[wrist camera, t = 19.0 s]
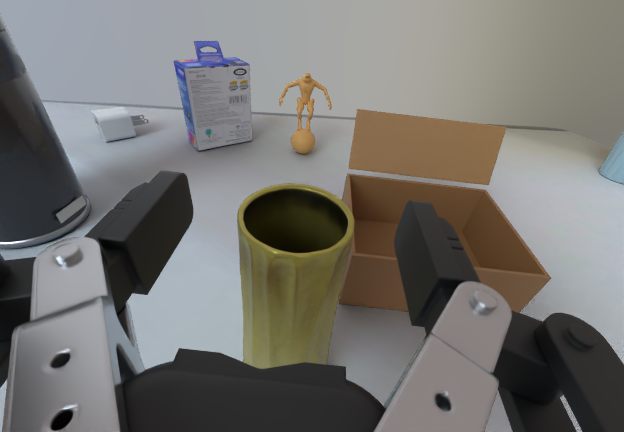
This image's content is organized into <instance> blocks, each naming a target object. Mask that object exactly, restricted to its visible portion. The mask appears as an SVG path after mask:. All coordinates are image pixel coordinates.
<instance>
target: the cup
mask: <svg viewBox="0 0 624 432" xmlns="http://www.w3.org/2000/svg"><path fill="white" fill-rule="evenodd" d="M599 173H600V174H601V175H603V176H604V177H606V178H608V179H610V180H612V181H615V182H618V183H622V184H624V132H623V133H622V135H621V136H620V138H619V139H618V141H617V142H616V144H615V146H614V147H613V149H612V150H611V152H610V154H609V155H608V157H607V158H606V160H605V162H604V163H603V165H602V166H601V168H600V170H599Z"/></svg>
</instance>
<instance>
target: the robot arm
mask: <svg viewBox="0 0 624 432" xmlns="http://www.w3.org/2000/svg"><path fill="white" fill-rule="evenodd" d="M90 210H91V205H90V202H89V200H88V198H87V196H86V195H85V194H84V192H83V190H82V188H81V185H80V183H79V181H78V179H77V177H76V174H75V172H74V170H73V168H72V166H71V164H70V161H69V159H68V157H67V155H66V153H65V151H64V149H63V146H62V144H61V142H60V140H59V138H58V136H57V134H56V132H55V129H54V127H53V125H52V123H51V121H50V119H49V117H48V114H47V112H46V110H45V108H44V106H43V104H42V102H41V99H40V97H39V95H38V93H37V91H36V89H35V87H34V84H33V82H32V80H31V78H30V76H29V74H28V72H27V70H26V68H25V66H24V63H23V61H22V59H21V57H20V55H19V53H18V51H17V48H16V46H15V44H14V42H13V40H12V38H11V36H10V34H9V31H8V29H6V25H5V23H4V21H3V19H2V17H1V15H0V249H15V248H23V247H28V246H33V245H37V244H41V243H44V242H47V241H50V240H53V239H55V238H57V237H60V236H62V235H64V234H66V233H68V232H69V231H71V230H73V229H74V228H76V227H77V226H78V225H80V224H81V223H82V222H83V221H84V220H85V219H86V218H87V216H88V215H89V213H90ZM192 219H193V204H192V199H191V194H190V189H189V184H188V179H187V176H186V175H185V174H184V173H179V172H170V171H160V172H159V173H158V174H157V175H156V176H155V177H154V178H153V179H152V180H151V181H150V182H149V183H144V184H142V185H140V186H138V187H136V188H134V189H132V190H131V191H130V192H129V193H128V194H127V195H126V196H125V197H124V198H123V199H122V201H120V202H119V203H118V204H117V205H116V206H115V207H114V209H112V210H111V211H110V212H109V213H108V214H107V215H106V216H105V217H104V218H103V219H102V220H101V221H100V222H99V223H98V224H97V225H96V226H95V227H94V228H93V229H92V230H91V231H90V232H89V233H88V234H86V235H85V236H84V237H75V238H69V239H65V240H62V241H59V242H57V243H55V244H53V245H51V246H49V247H47V248H46V249H45V250H43V251H42V252H41V253H40V254H39V255H38V256H37V257H32V258H23V259H15V260H6V261H5V260H4V259H3V257H2V256H1V255H0V387H1V386H2V385H3V384H4V382H5V381H6V380H7V378H8V380H7V390H6V399H5V408H4V418H3V427H2V432H484V431H485V428H486V425H487V422H488V419H489V415H490V412H491V409H492V406H493V403H494V399H495V396H496V393H497V390H498V391H499V394H500V397H501V399H502V402H503V405H504V408H505V411H506V414H507V417H508V419H509V422H510V425H511V428H512V431H513V432H577V431H576V429H575V427H574V425H573V423H572V421H571V419H570V417H569V415H568V413H567V411H566V409H565V407H564V405H563V403H562V401H561V399H560V397H561V396H562V395H564V396H565V398H566V400H567V402H568V404H569V406H570V408H571V410H572V412H573V414H574V416H575V418H576V419H577V421H578V423H579V425H580V427H581V429H582V432H624V364H623V363H622V361H621V360H620V359H619V357H618V356H617V354H616V353H615V351H614V350H613V349H612V347H611V346H610V344H609V343H608V342H607V341H606V339H605V338H604V337H603V336H602V335H601V334H600V333H599V332H598V331H597V330H596V329H594V328H593V327H592V326H591V325H589V324H588V323H586V322H584V321H583V320H581V319H579V318H577V317H574V316H572V315H569V314H565V313H554V314H551V315H550V316H549V317H548V318H547V319H545V320H544V321H543V322H542V321H539V320H537V319H534V318H531V317H528V316H526V315H523V314H520V313H518V312H515V311H513V310H511V308H510V306H509V304H508V303H507V301H506V300H505V299H504V298H503V296H501V295H500V294H499V293H498V292H497V291H495V290H494V289H492V288H491V287H489V286H487V285H485V284H482V283H481V281H480V279H479V277H478V275H477V273H476V271H475V269H474V267H473V265H472V263H471V261H470V259H469V257H468V255H467V253H466V251H465V250H464V247H463V245H462V243H461V241H459V237H458V235H457V233H456V231H455V229H454V227H452V226H451V225H450V224H449V223H448V222H447V221H446V220H445V219H444V218H440V217H438V216H437V214H436V212H435V209H434V207H433V205H432V204H431V203H430V202H422V201H413V200H409V201H408V202H407V203H406V205H405V208H404V211H403V214H402V216H401V219H400V222H399V224H398V227H397V230H396V233H395V238H394V249H395V253H396V258H397V262H398V266H399V271H400V275H401V280H402V284H403V288H404V293H405V297H406V302H407V306H408V311H409V315H410V319H411V324H412V326H419V327H425V330H426V334H427V335H426V336H425V338H424V340H423V341H422V343H421V345H420V346H419V348H418V350H417V351H416V353H415V355H414V356H413V358H412V360H411V361H410V363H409V365H408V366H407V368H406V370H405V371H404V373H403V375H402V377H401V378H400V380H399V382H398V383H397V385H396V386H395V388H394V390H393V391H392V393H391V395H390V396H389V398H388V399H387V401H386V403H385V404H384V406H383V405H382V404H381V403H380V402H379V401H378V400H377V399H376V398H375V397H374V396H372V395H371V394H370V393H369V392H367V391H366V390H365V389H363V388H362V387H360V386H358V385H357V384H355V383H353V382H351V381H348V380H346V367H343V366H334V365H325V364H316V363H307V362H303V363H297V364H291V365H284V366H278V367H272V368H265V369H259V368H256V367H253V366H251V365H248V364H246V363H244V362H241V361H239V360H236V359H234V358H231V357H229V356H227V355H224V354H222V353H217V352H208V351H199V350H190V349H180V348H179V350H178V352H177V354H176V356H175V359H174V361H172V362H167V363H164V364H160V365H157V366H154V367H152V368H149V369H147V370H145V368H144V365H143V363H142V360H141V357H140V353H139V349H138V344H137V340H136V335H135V331H134V326H133V321H132V317H131V312H130V307H129V304H128V302H127V300H128V299H129V297H130V296H131V294H132V293H135V294H144V295H147V294H148V293H149V291H150V290H151V288H152V286H153V285H154V283H155V281H156V280H157V278H158V276H159V275H160V273H161V272H162V270H163V268H164V267H165V265H166V263H167V262H168V260H169V259H170V257H171V255H172V254H173V252H174V250H175V249H176V247H177V245H178V244H179V242H180V241H181V239H182V237H183V236H184V234H185V232H186V231H187V229H188V228H189V226H190V224H191V222H192Z"/></svg>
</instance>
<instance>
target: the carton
mask: <svg viewBox="0 0 624 432" xmlns="http://www.w3.org/2000/svg"><path fill="white" fill-rule="evenodd" d="M409 200H413V201H422V202H430V203H431V204H432V205H433V207H434V209H435V212H436V214H437V216H438V217H440V218H444V219H445V220H446V221H447V222H448V223H449V224H450V225H451V226H452V227H454V229H455V231H456V233H457V235H458V237H459V241H461V243H462V245H463V247H464V250H465V251H466V253H467V255H468V257H469V259H470V261H471V263H472V265H473V267H474V269H475V271H476V273H477V275H478V277H479V279H480V281H481V283H482V284H485V285H487V286H489V287H491V288H492V289H494V290H495V291H497V292H498V293H499V294H500V295H501V296H503V298H504V299H505V300H506V301H507V303H508V304H509V306H510V308H511V310H513V311H515V312H518V313H519V312H520V311H521V310H522V309H523V308H524V307H525V306H526V305H527V304H528V303H529V301H530V300H531V299H532V298H533V297H534V296H535V295H536V294H537V293H538V292H539V291H540V290H541V289H542V288H543V286H544V285H545V284H546V283H547V282H548V281H549V280H550V279H551V277H550V276H549V275H548V273H547V272H546V271H545V269H544V268H543V267H542V265H541V264H540V262H539V261H538V260H537V258H536V257H535V256H534V254H533V253H532V252H531V250H530V249H529V248H528V246H527V245H526V244H525V242H524V241H523V240H522V238H521V237H520V235H519V234H518V233H517V231H516V230H515V229H514V227H513V226H512V225H511V223H510V222H509V221H508V219H507V218H506V217H505V215H504V214H503V213H502V211H501V210H500V208H499V207H498V206H497V204H496V203H495V202H494V200H493V199H492V198H491V196H490V195H489V194H488V192H487V191H486V190H482V189H473V188H465V187H457V186H448V185H440V184H431V183H423V182H414V181H406V180H397V179H389V178H380V177H372V176H363V175H355V174H347V177H346V182H345V187H344V192H343V197H342V201H343V202H344V203H345V204H346V205H347V207H348V208H349V209H350V211H351V212H352V214H353V216H354V220H355V225H354V232H353V240H352V246H351V249H350V253H349V256H348V261H347V265H346V269H345V273H344V278H343V282H342V287H341V291H340V294H339V303H340V304H348V305H356V306H365V307H374V308H383V309H391V310H400V311H408V306H407V302H406V297H405V293H404V288H403V284H402V280H401V275H400V271H399V266H398V262H397V258H396V253H395V249H394V238H395V233H396V230H397V227H398V224H399V222H400V219H401V216H402V214H403V211H404V208H405V205H406V203H407V202H408V201H409Z"/></svg>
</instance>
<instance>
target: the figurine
mask: <svg viewBox="0 0 624 432" xmlns="http://www.w3.org/2000/svg"><path fill="white" fill-rule="evenodd" d="M296 85H299V87H300V91H301V95H302V99H301V98H297V112H298V116H297V117H298V119H299V122H298V129H297V131H295V132H294V134H293V135H292V138H291V144H292V147H293V149H294V150H295V151H296V152H298V153H302V154H305V153H308V152H310V151H311V150H312V149H313V148H314V145H315V137H314V135H313V133H312V132H311V131H310V120H311V119H312V115H313V110H314V108H313V105H314V99H311V100H310V95H311V93H312V91H313V88H314V87H317V88H319V89H321V90H323V91H324V93H325V95H326V99H327V101H328V102H329V105H328V106H329V108H330V110H331V102H330V98H329V96H328V93H327V90H326V88H325V87H324V86H322V85H321V84H319V83H318V82H317V81H315V80H313V79H312V78H311V76H310V74H309V73H306V74H305V75H304V76H303V77H302V78H301V79H298V80H296V81H294V82H291V83H289V84H287V85H286V87H285V90H284V92H283V93H282V95H281V98H280V101H279V106H280V105H281V102H283V101H282V99H283V97H284V96H285V94H286V92H287V90H288V88H290V87H293V86H296ZM304 104H305V105H306V104H307V110H308V112H309V116H308V117H307V118H308V120H307V128H306V129H302V128H301V118H302V116H301V112H302V110H303V109H304Z"/></svg>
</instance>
